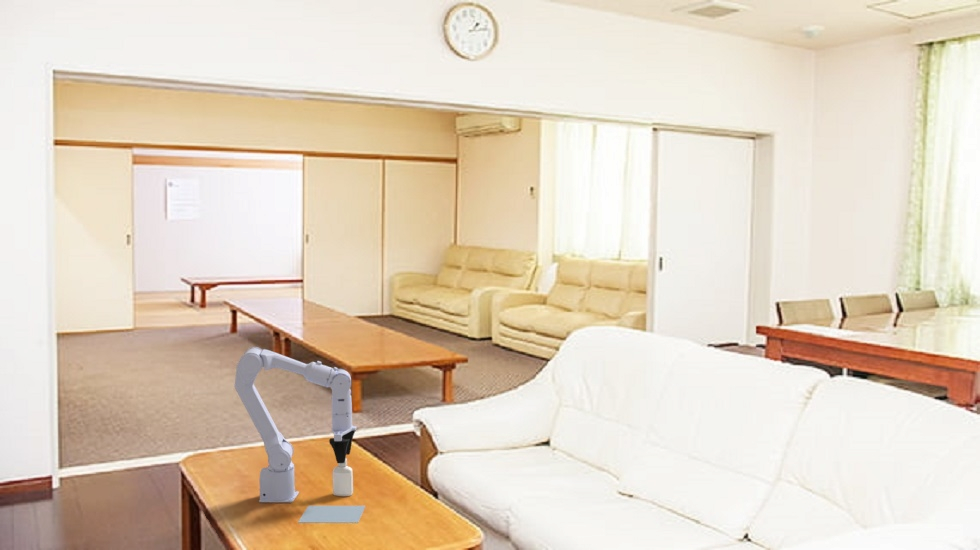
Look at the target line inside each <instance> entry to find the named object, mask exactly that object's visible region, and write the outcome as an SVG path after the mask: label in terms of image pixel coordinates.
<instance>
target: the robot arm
mask: <svg viewBox="0 0 980 550" xmlns="http://www.w3.org/2000/svg"><path fill="white" fill-rule="evenodd" d="M263 368H264V369H263ZM275 368H276V369H279V370H282V371H283V370H284V371H287V372H291V373H294V374H298V375H301V376H303V378H304V379H305V381H306V382H308V383H312V384H315V385H319V386H321V387H324V388H330V389H331V424H332V427H331V432H332V434H333V437H331V438H329V440H328V443H329V445H330V446H331V448H332V449H333V453H334V457H335V460H336V464H338V463H345V459H346V458H347V456H348V455H350V454H351V450H352V445H353V444H352V443H353V437H354V436H355V432H356V430H357V425H353V404H352V395H351V394H352V390H351V387H352V378H351V376H352V375H351V374H350V372H348V371H347V370H345V369H344V368H338V367H336V366H334V367H330V366H328V365H325V364H322V361H320V360H317V362H315V361H311V362H309V363H305V362H302V361H299V360H297V359H294V358H291V357H288V356H287V355H284V354H280V353H278V352H275V351H272V350H269V349H266V348H264V349H262V348H260V347H256V346H253V347H249V348H248V349H246V351H245V352H244V354H243V355H242V356H241V357H240V359H239V360H238V363H237V365H236V367H235V369H236V371H235V379H234V380H235V381H234V389H235V391H236V393H237V394H238V397H239V398H240V400H241V402H242V404H243V406H244V408H245V410H246V411H247V413H248V415H249V417H250V419H251V422H252V423H253V424H254V427H255V428H256V430H257V432H258V435H260V438H261V440H262V442H263V445H264V449H265V452H266V455H267V463H268V466H266V467H262V468H261V470H260V471H259V500H258V502H259V503H293V502H294V501H295V500H296V499H297V496H298V495H299V494H300V491H299V490H296V487H295V486H296V485H295V480H296V479H295V464H294V462H293V461H292V458H293V455H294V447H293V444H292V443H290V442H289V441H288V440H286V438H285V437H284V435H283V434H282V433H281V432H280V430H279V428H277V425H276V423H275V422H274V420H273V417H272V416H271V414H270V412H269V410H268V408H267V406H266V404H265V403H264V401H263V399H262V396H261V395H260V393H259V390H258V389H257V387H256V385H255V381H256V379H257V376H258V375H259V373H260V371H262V369H263V370H264V372H265V371H269V370H271V369H275Z"/></svg>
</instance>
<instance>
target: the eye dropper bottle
mask: <svg viewBox="0 0 980 550" xmlns="http://www.w3.org/2000/svg"><path fill="white" fill-rule="evenodd" d="M337 464H338V465H337V466H335V467H334V468H333V470H332V494H333V495H334V496H336V497H350V496H352V495H353V494H354V477H353V475H354V474H353V473H354V472H353V471H354V470H353V468H352V467H350V466H348V459H347V457H346V459H345V463H337Z"/></svg>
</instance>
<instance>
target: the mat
mask: <svg viewBox="0 0 980 550" xmlns="http://www.w3.org/2000/svg"><path fill="white" fill-rule="evenodd" d="M365 507H366V505H307V507H306V508H305V510H304V512H303V513H302V515H301V516H300V518H299V519H298V521H297V523H298V524H309V523H310V524H328V523H329V524H351V523H352V524H359V522H360V519H361V517H362V515H363V513H364V511H365Z"/></svg>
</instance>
